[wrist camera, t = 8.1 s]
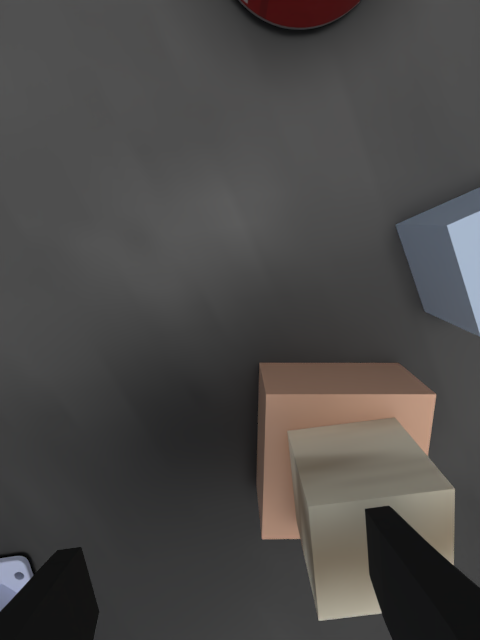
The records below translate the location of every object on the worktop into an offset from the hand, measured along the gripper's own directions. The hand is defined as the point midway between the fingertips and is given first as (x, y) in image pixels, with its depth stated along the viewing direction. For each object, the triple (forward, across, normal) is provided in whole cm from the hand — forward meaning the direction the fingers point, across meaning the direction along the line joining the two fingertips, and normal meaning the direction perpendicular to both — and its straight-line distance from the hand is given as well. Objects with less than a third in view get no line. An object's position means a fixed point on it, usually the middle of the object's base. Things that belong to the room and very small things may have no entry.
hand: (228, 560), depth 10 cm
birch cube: (+7, -5, +3) cm, 8 cm away
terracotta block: (+11, -5, +3) cm, 12 cm away
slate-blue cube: (+10, -12, -6) cm, 17 cm away
